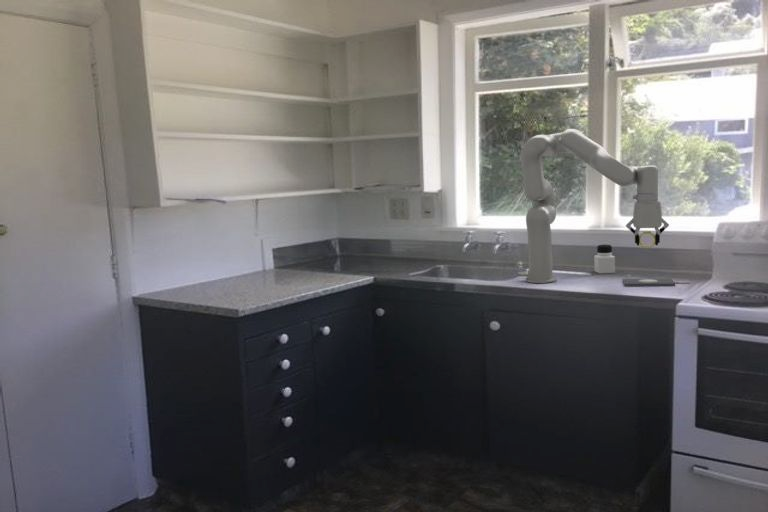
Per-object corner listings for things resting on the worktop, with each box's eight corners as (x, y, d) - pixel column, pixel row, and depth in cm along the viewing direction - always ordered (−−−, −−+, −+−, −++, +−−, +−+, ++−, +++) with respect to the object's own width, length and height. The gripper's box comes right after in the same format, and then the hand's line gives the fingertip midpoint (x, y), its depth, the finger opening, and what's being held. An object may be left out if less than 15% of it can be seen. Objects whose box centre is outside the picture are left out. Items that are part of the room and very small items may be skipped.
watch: (638, 247, 263) (637, 232, 262) (640, 247, 265) (639, 231, 265) (655, 246, 260) (654, 231, 259) (656, 246, 262) (655, 230, 262)
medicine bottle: (615, 272, 294) (615, 245, 292) (599, 273, 294) (598, 246, 292) (610, 270, 301) (610, 243, 299) (594, 271, 301) (593, 244, 300)
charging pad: (624, 286, 261) (624, 283, 261) (622, 281, 273) (622, 278, 273) (693, 285, 255) (693, 283, 254) (688, 280, 266) (688, 277, 266)
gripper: (623, 199, 259) (624, 246, 262) (672, 197, 254) (672, 245, 257) (622, 198, 266) (622, 244, 269) (670, 196, 261) (670, 243, 264)
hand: (647, 244), depth 263 cm, fingers closed on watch, 6 cm apart
